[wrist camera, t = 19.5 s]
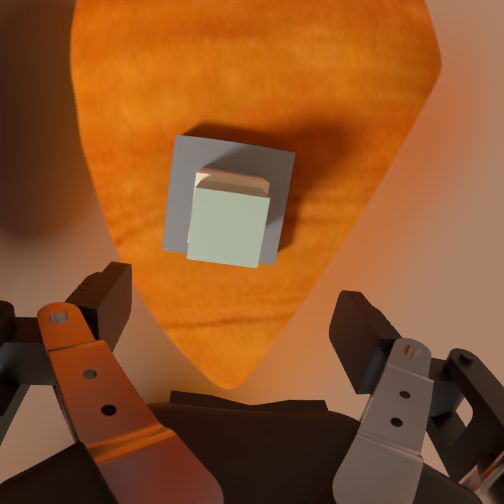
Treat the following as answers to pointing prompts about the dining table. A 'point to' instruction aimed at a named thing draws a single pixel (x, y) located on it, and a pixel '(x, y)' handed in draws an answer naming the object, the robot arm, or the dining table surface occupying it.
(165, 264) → the dining table surface
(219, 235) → the sage block
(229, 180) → the birch block
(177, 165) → the slate plinth
